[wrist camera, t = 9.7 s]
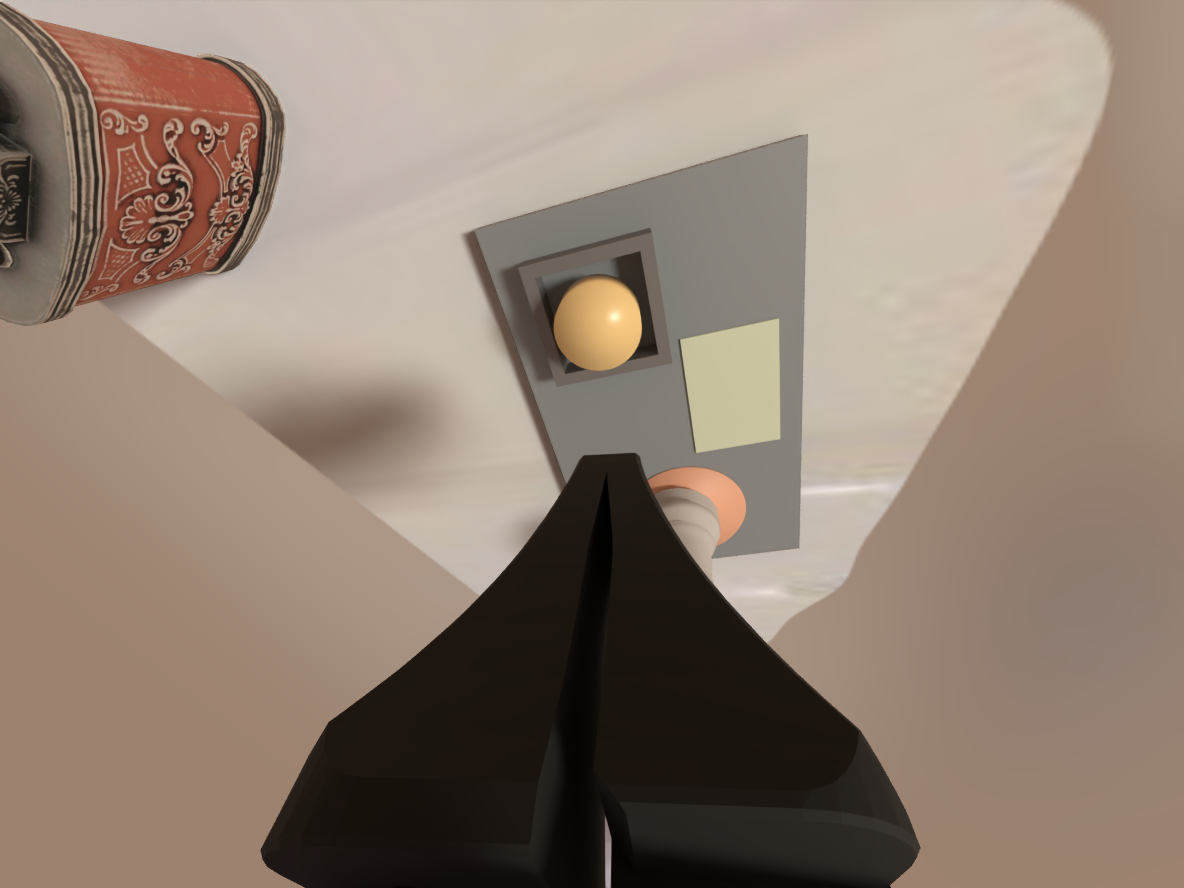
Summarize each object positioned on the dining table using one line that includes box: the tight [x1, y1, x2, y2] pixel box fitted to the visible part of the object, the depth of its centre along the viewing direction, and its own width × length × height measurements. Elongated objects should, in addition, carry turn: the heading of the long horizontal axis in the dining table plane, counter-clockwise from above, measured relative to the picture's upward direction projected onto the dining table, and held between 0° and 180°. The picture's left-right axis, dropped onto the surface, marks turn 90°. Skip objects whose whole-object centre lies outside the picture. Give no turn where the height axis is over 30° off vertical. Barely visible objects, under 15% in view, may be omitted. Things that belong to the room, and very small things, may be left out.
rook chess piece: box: [654, 487, 720, 583], centre depth 20 cm, size 4×4×8 cm
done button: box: [554, 274, 642, 371], centre depth 16 cm, size 3×3×2 cm
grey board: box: [474, 134, 808, 559], centre depth 20 cm, size 20×12×2 cm, turn 14°
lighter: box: [0, 2, 286, 326], centre depth 12 cm, size 8×3×10 cm, turn 139°
